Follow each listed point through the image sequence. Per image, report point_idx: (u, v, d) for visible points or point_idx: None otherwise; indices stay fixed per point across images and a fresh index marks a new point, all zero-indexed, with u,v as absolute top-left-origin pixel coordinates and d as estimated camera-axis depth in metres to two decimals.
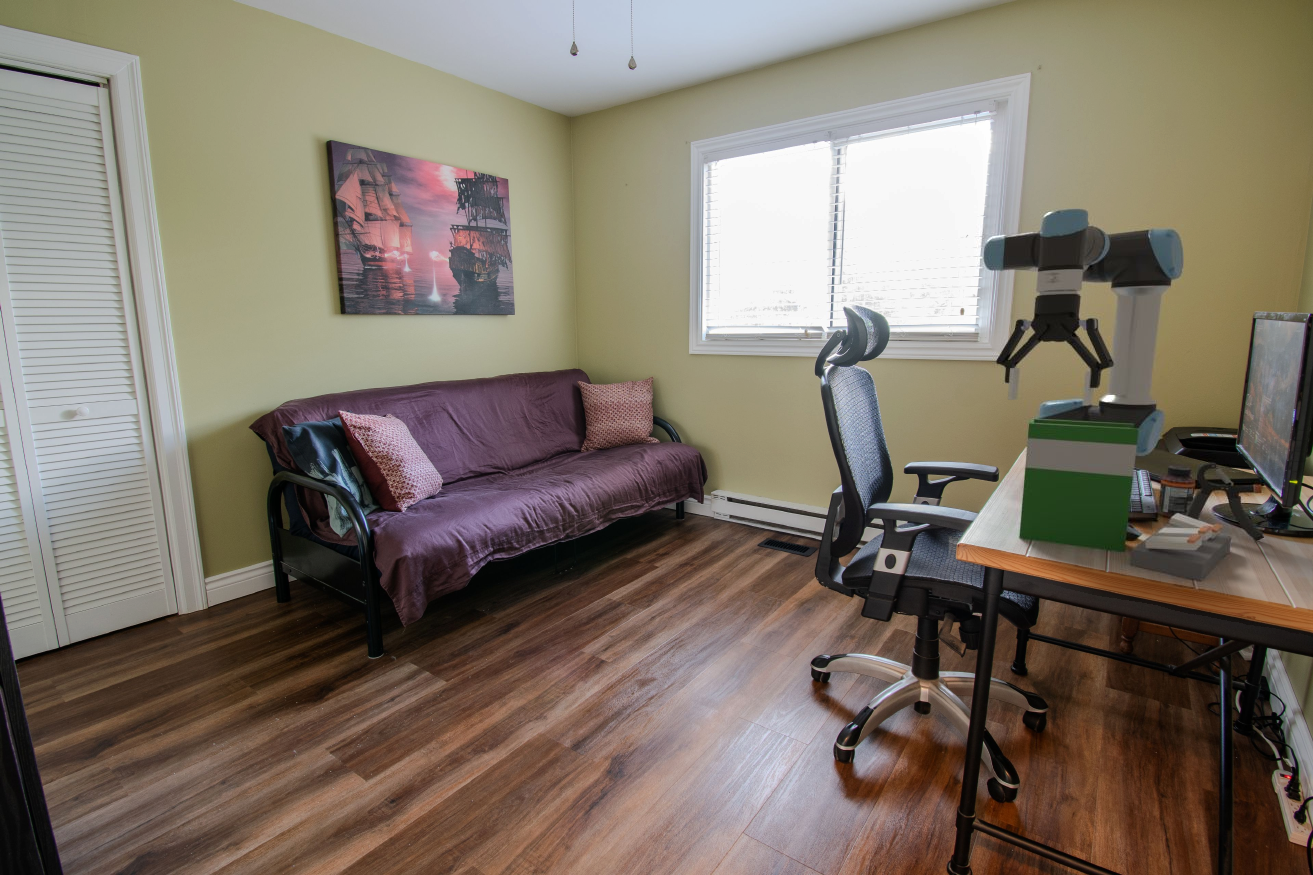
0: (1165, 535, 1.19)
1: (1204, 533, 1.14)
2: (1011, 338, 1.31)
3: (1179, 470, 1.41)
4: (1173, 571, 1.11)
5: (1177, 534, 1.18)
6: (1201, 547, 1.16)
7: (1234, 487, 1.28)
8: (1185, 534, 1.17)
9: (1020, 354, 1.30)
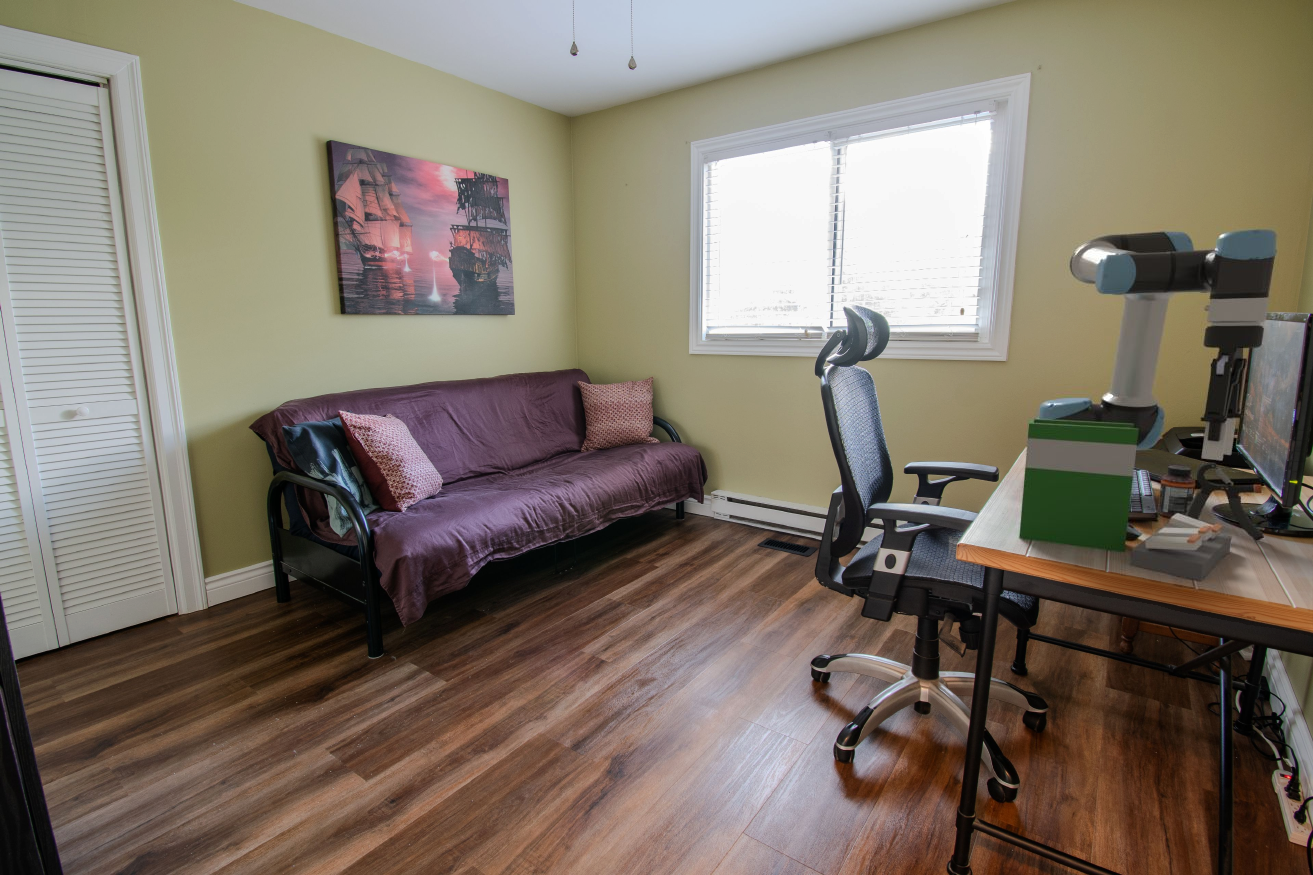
0: (1165, 535, 1.19)
1: (1204, 533, 1.14)
2: None
3: (1179, 470, 1.41)
4: (1173, 571, 1.11)
5: (1177, 534, 1.18)
6: (1201, 547, 1.16)
7: (1234, 487, 1.28)
8: (1185, 534, 1.17)
9: None
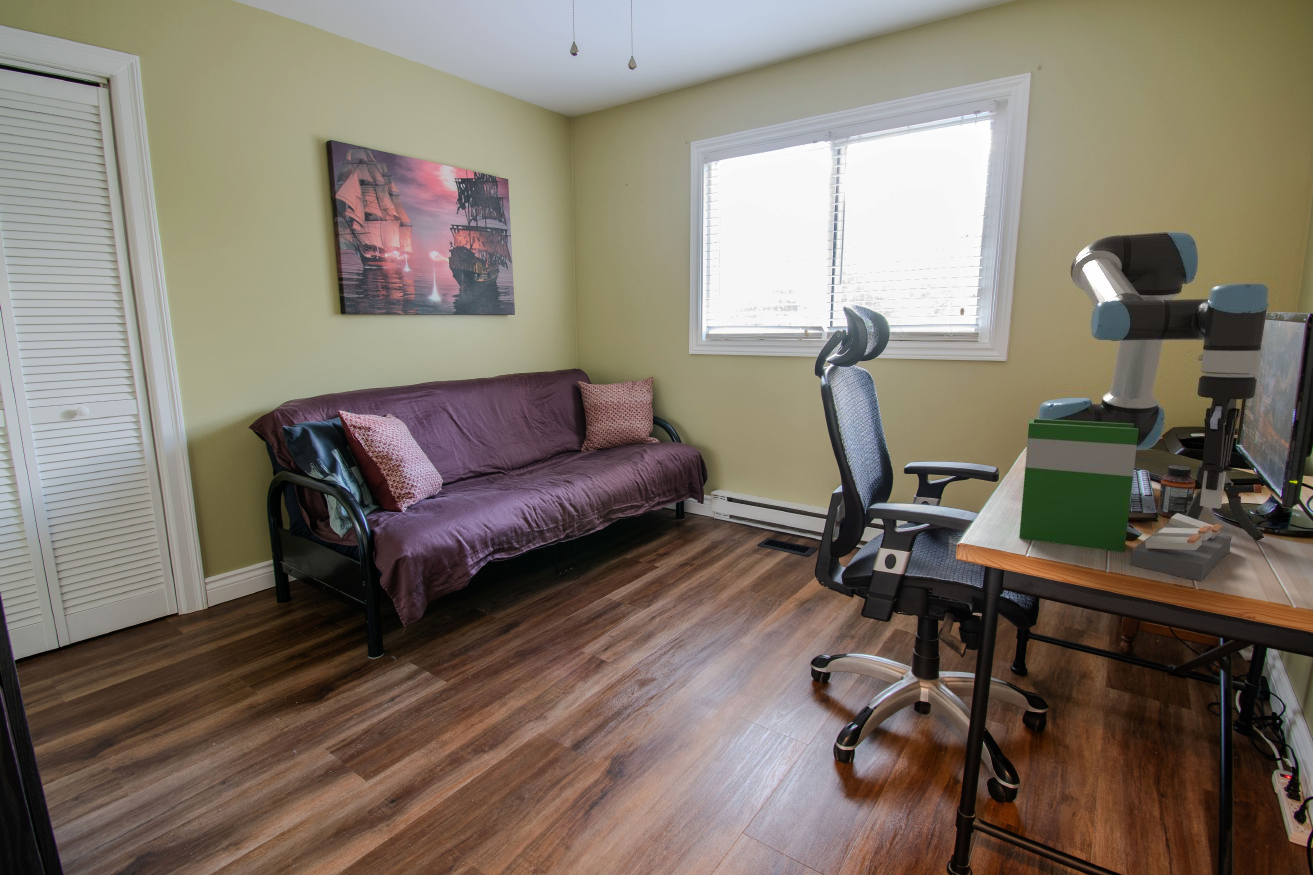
0: (1165, 535, 1.19)
1: (1204, 533, 1.14)
2: None
3: (1179, 470, 1.41)
4: (1173, 571, 1.11)
5: (1177, 534, 1.18)
6: (1201, 547, 1.16)
7: (1234, 487, 1.28)
8: (1185, 534, 1.17)
9: None
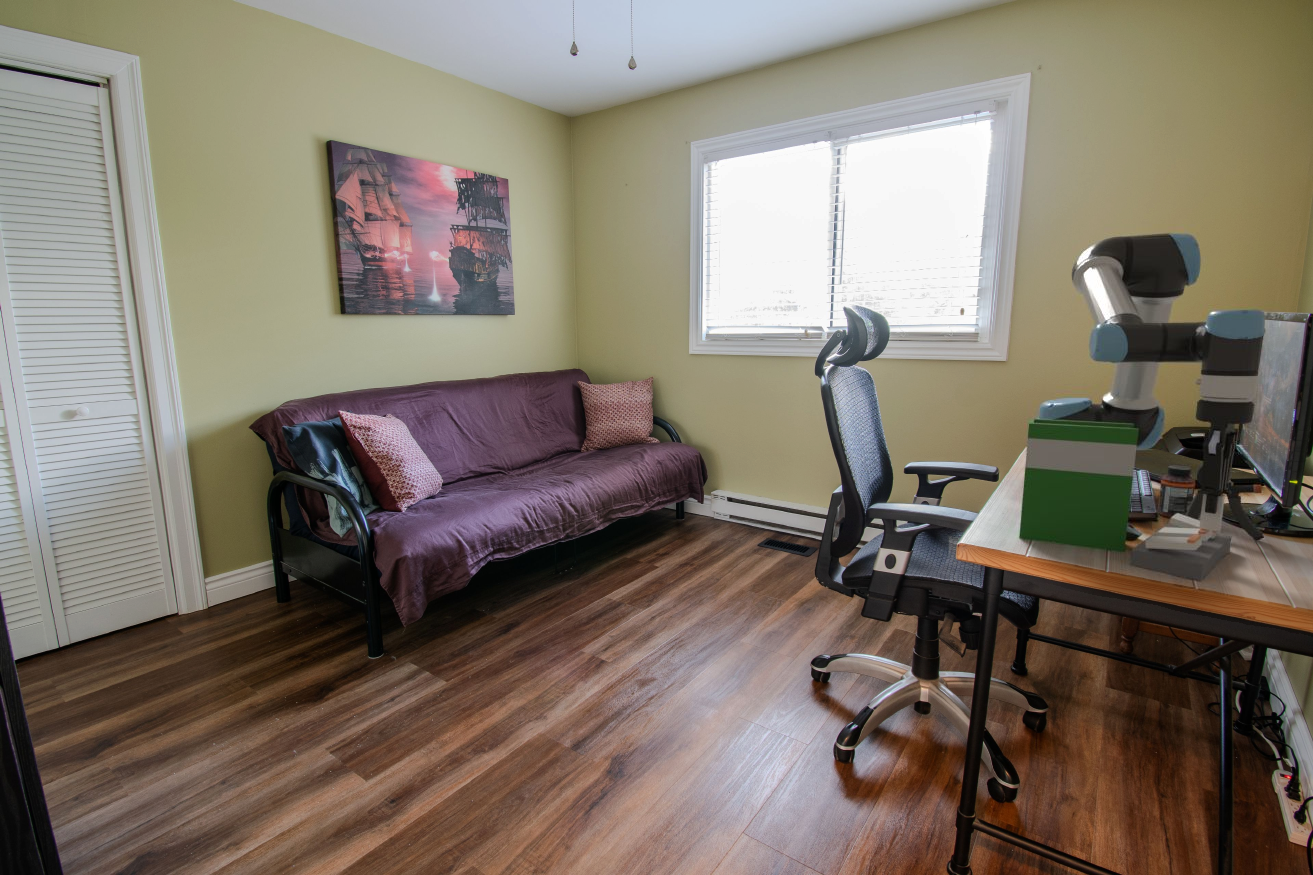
0: (1165, 535, 1.19)
1: (1204, 533, 1.14)
2: None
3: (1179, 470, 1.41)
4: (1173, 571, 1.11)
5: (1177, 534, 1.18)
6: (1201, 547, 1.16)
7: (1234, 487, 1.28)
8: (1185, 534, 1.17)
9: None
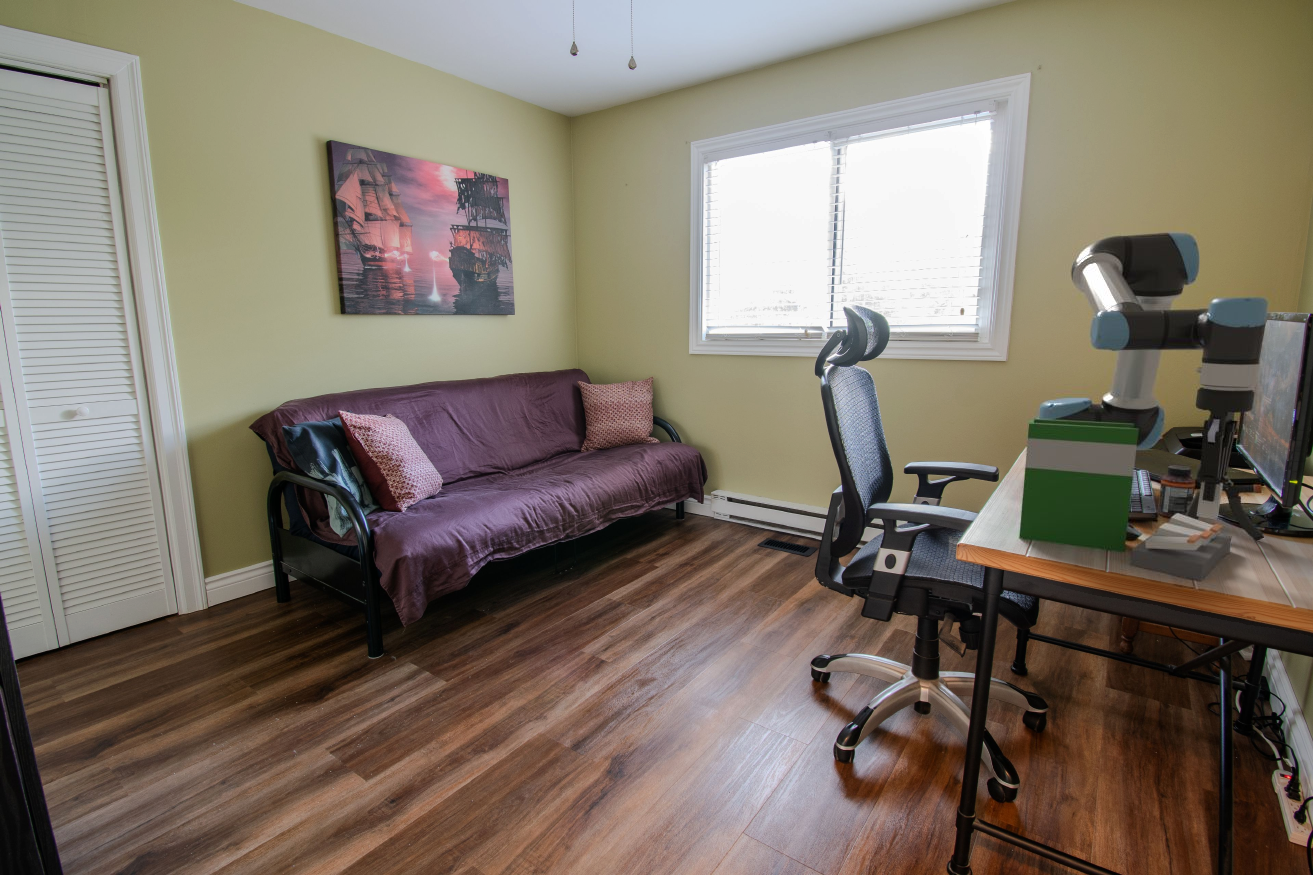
0: (1165, 532, 1.19)
1: (1205, 538, 1.14)
2: None
3: (1179, 470, 1.41)
4: (1173, 571, 1.11)
5: (1178, 533, 1.17)
6: (1201, 547, 1.16)
7: (1234, 487, 1.28)
8: (1186, 535, 1.17)
9: None
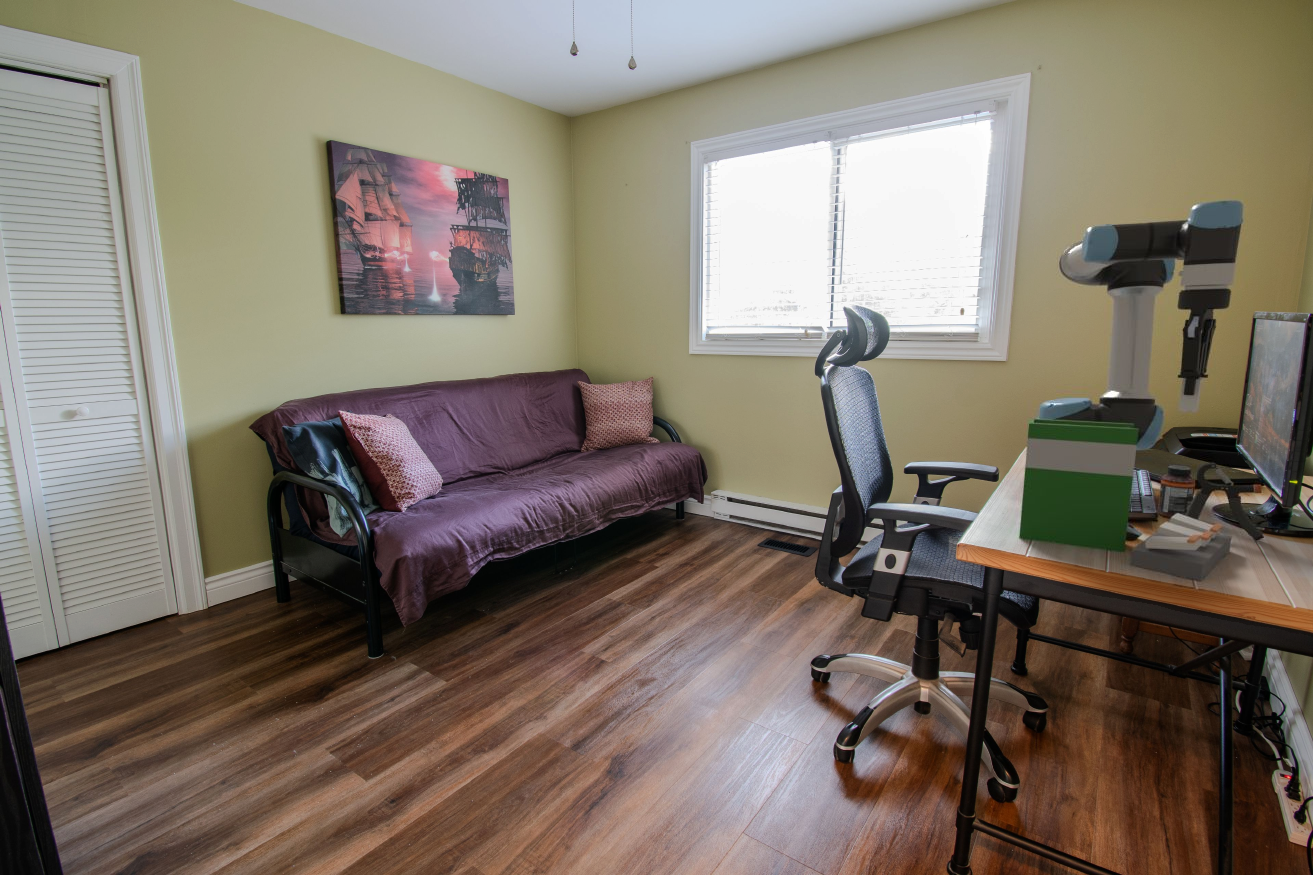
0: (1166, 531, 1.19)
1: (1205, 540, 1.14)
2: None
3: (1179, 470, 1.41)
4: (1173, 571, 1.11)
5: (1178, 533, 1.17)
6: (1201, 547, 1.16)
7: (1234, 487, 1.28)
8: (1186, 535, 1.17)
9: None
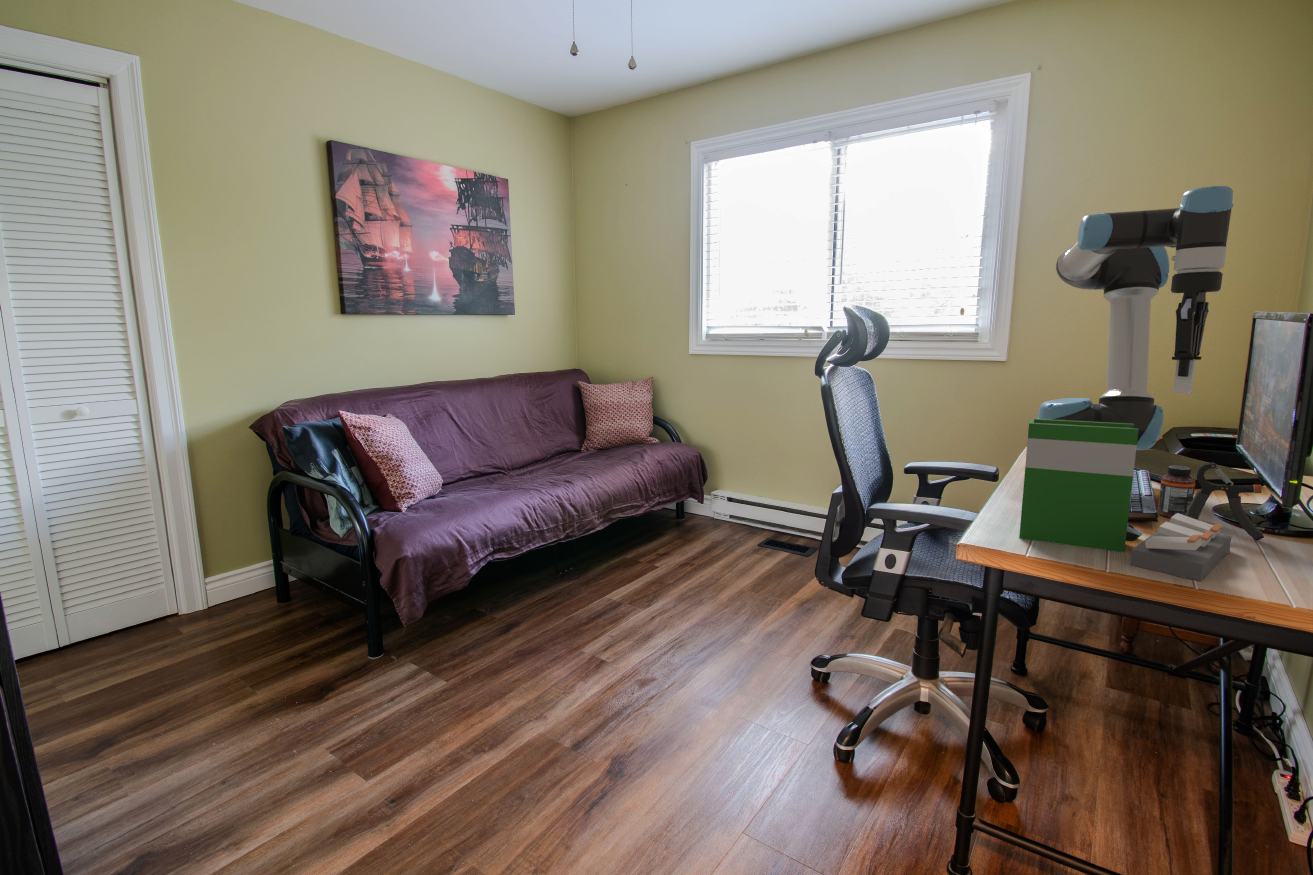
0: (1166, 531, 1.19)
1: (1205, 540, 1.14)
2: None
3: (1179, 470, 1.41)
4: (1173, 571, 1.11)
5: (1178, 533, 1.17)
6: (1201, 547, 1.16)
7: (1234, 487, 1.28)
8: (1186, 535, 1.17)
9: None
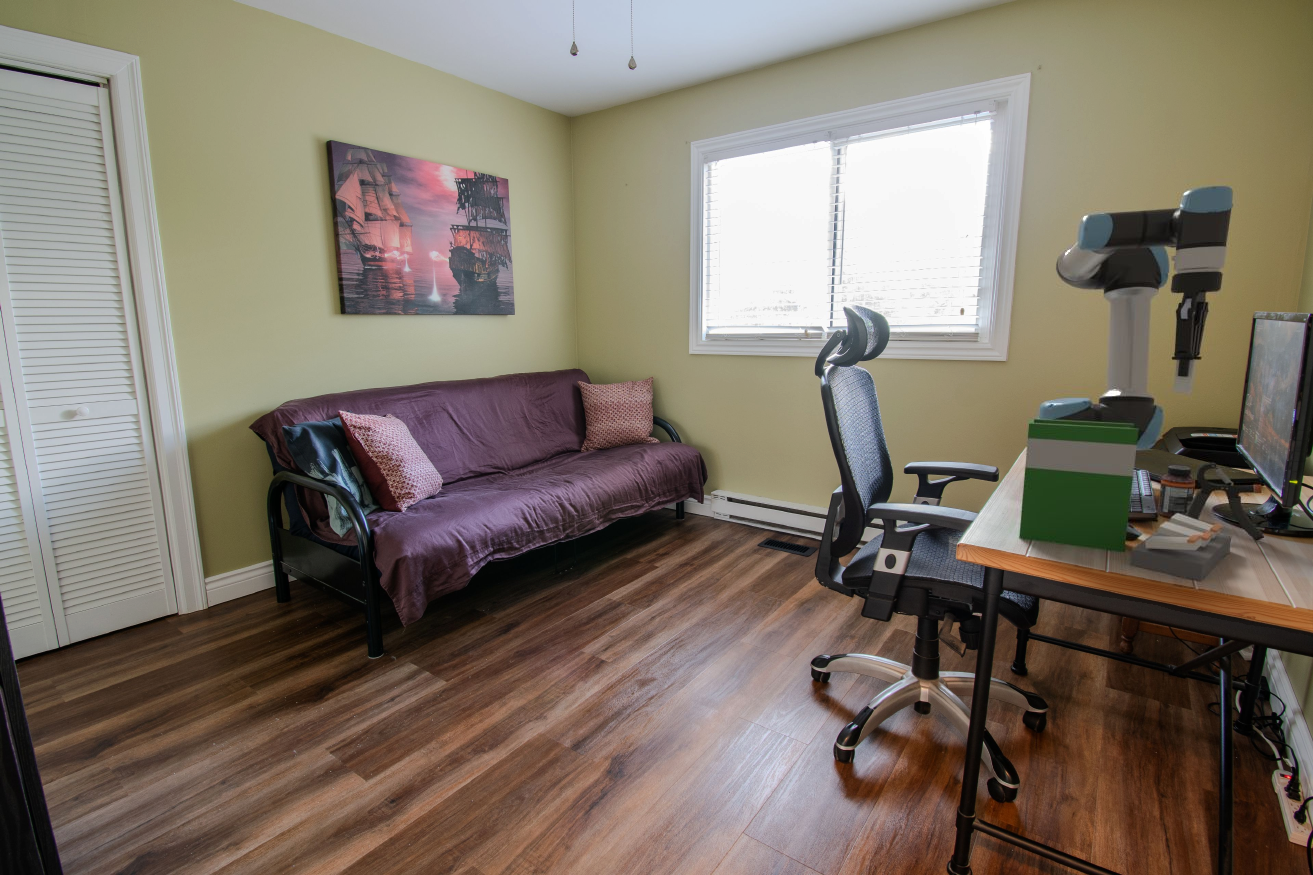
0: (1166, 531, 1.19)
1: (1205, 540, 1.15)
2: None
3: (1179, 470, 1.41)
4: (1173, 571, 1.11)
5: (1178, 533, 1.17)
6: (1201, 547, 1.16)
7: (1234, 487, 1.28)
8: (1186, 535, 1.17)
9: None
